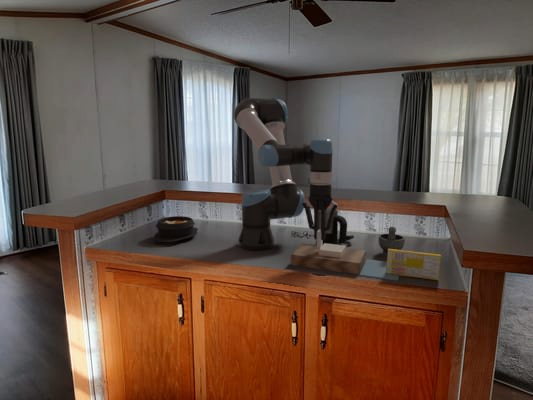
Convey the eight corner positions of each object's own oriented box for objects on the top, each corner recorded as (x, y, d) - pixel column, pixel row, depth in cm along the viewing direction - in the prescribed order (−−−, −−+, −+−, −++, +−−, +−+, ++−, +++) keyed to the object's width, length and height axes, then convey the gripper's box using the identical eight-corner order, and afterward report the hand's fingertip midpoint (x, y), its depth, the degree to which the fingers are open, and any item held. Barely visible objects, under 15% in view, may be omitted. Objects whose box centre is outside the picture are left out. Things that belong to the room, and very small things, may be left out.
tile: (318, 255, 135) (318, 249, 134) (324, 248, 142) (324, 243, 142) (341, 257, 132) (341, 252, 131) (345, 250, 139) (346, 245, 139)
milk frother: (311, 246, 157) (312, 211, 154) (325, 237, 171) (325, 204, 168) (345, 252, 150) (346, 215, 148) (356, 241, 164) (357, 207, 161)
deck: (291, 265, 136) (291, 254, 135) (302, 253, 149) (302, 243, 148) (359, 274, 127) (359, 263, 127) (365, 261, 140) (365, 250, 139)
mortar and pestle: (378, 249, 154) (379, 220, 151) (403, 251, 151) (405, 221, 149) (377, 258, 143) (379, 227, 141) (403, 260, 140) (405, 229, 138)
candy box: (438, 278, 124) (441, 254, 122) (438, 281, 122) (441, 256, 120) (385, 271, 129) (388, 247, 127) (385, 273, 127) (387, 249, 125)
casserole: (180, 248, 156) (179, 228, 155) (141, 244, 162) (140, 225, 160) (207, 232, 180) (206, 215, 178) (172, 229, 185) (171, 212, 184)
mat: (359, 275, 126) (359, 274, 126) (366, 260, 141) (366, 259, 141) (398, 280, 122) (398, 279, 122) (400, 264, 136) (401, 263, 136)
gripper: (299, 184, 133) (299, 249, 137) (336, 185, 128) (335, 253, 132) (306, 181, 140) (305, 243, 144) (341, 183, 135) (339, 247, 139)
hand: (319, 248), depth 138 cm, fingers closed
